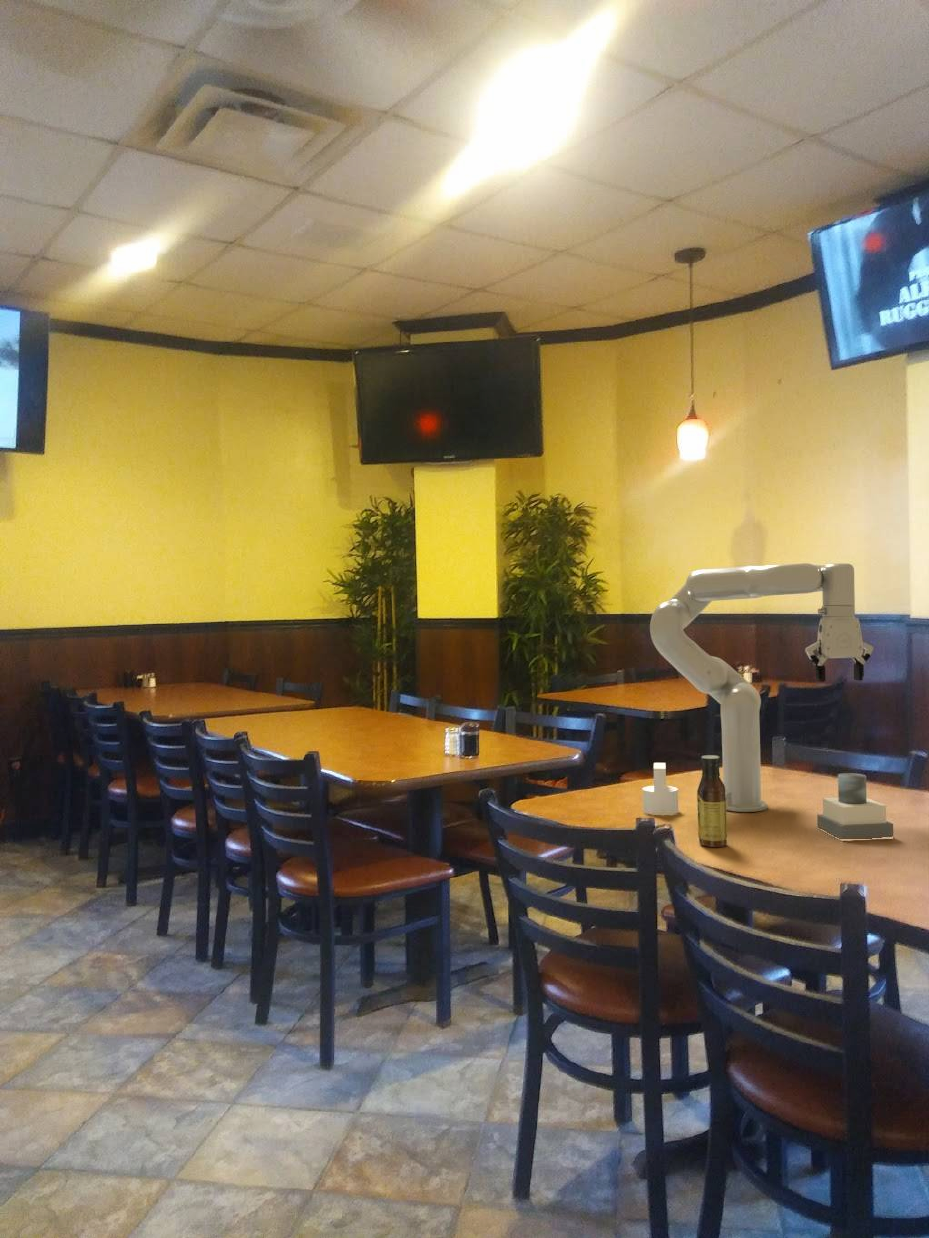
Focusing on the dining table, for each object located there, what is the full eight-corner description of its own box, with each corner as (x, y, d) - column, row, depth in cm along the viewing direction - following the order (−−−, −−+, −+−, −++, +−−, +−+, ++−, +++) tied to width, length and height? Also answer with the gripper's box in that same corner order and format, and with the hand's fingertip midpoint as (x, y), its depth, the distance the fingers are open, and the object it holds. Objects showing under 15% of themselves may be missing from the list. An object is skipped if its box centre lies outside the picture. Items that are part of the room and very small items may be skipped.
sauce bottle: (706, 839, 218) (704, 752, 218) (732, 843, 214) (730, 755, 214) (693, 846, 213) (691, 756, 213) (719, 850, 209) (717, 759, 209)
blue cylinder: (846, 804, 217) (845, 778, 217) (833, 799, 223) (833, 773, 223) (871, 803, 218) (871, 777, 218) (858, 798, 224) (858, 772, 224)
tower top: (843, 824, 215) (843, 807, 215) (823, 815, 225) (822, 798, 225) (886, 823, 216) (885, 805, 216) (864, 813, 226) (863, 796, 226)
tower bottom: (841, 844, 214) (841, 826, 214) (817, 831, 226) (817, 814, 226) (893, 841, 215) (893, 823, 215) (866, 829, 227) (866, 812, 227)
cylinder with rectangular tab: (678, 816, 242) (677, 768, 242) (642, 815, 244) (641, 768, 244) (678, 808, 251) (677, 762, 251) (643, 807, 253) (642, 762, 252)
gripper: (811, 613, 236) (813, 683, 237) (879, 612, 238) (880, 681, 238) (798, 613, 244) (800, 680, 244) (864, 611, 245) (865, 678, 246)
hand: (839, 680), depth 241 cm, fingers open, 9 cm apart
